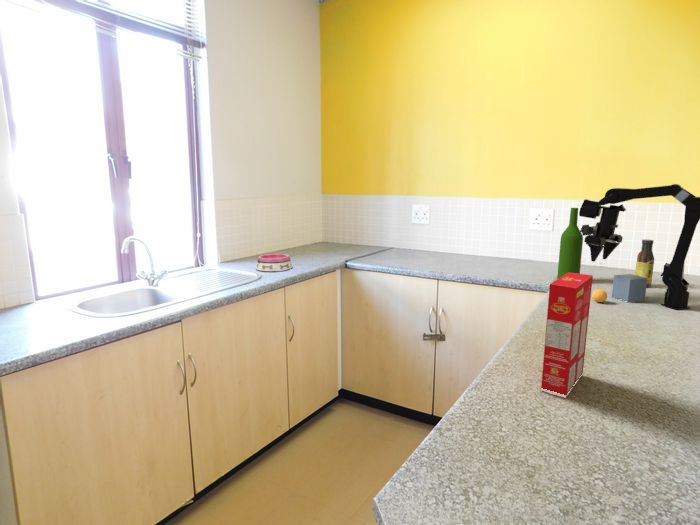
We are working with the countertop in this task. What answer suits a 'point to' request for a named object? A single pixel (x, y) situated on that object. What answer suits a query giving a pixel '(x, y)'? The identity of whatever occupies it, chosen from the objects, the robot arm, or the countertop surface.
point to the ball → (599, 295)
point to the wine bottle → (570, 247)
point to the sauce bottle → (645, 261)
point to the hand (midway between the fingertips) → (598, 260)
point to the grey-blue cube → (629, 287)
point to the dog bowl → (273, 263)
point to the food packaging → (566, 331)
